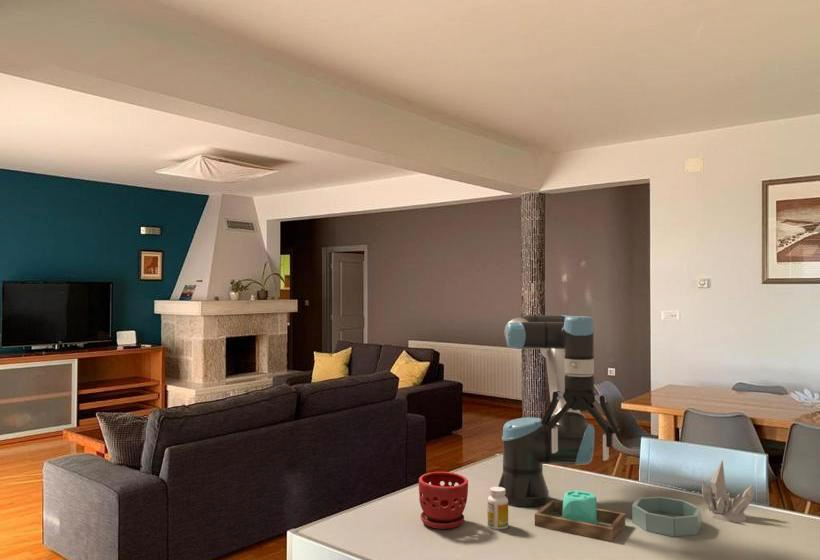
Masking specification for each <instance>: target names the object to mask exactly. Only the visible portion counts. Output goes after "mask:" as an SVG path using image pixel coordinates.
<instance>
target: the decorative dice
mask: <svg viewBox="0 0 820 560" xmlns="http://www.w3.org/2000/svg"><path fill="white" fill-rule="evenodd" d="M562 502H563V514H562V518H565V519H570V520H575V521H580V522H585V523H590V524H595V525H597V521H596V519H597V508H598V506H597V505H598V504H597V496H596V495H595V494H593V493H592V492H589V491H585V490H579V489H577V490H576V489H575V490H574V489H573V490H569V491H566V492H565V493H564V494H563V500H562Z"/></svg>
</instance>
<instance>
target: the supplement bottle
mask: <svg viewBox="0 0 820 560" xmlns="http://www.w3.org/2000/svg"><path fill="white" fill-rule="evenodd" d="M489 494H490V495H489V496H488V497H487V527H489V528H491V529H494V530H504V529H508V527H509V504H508V499H507V497H505V488H503V487H498V486H492V487H490V488H489Z"/></svg>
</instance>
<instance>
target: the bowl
mask: <svg viewBox="0 0 820 560" xmlns="http://www.w3.org/2000/svg"><path fill="white" fill-rule="evenodd" d="M631 507H632V508H631V517H632V518H631V520H632V521H631V522H632V523H633V524H635V525H636V526H637V527H639V528H641V529H643V530H644V531H646V532H648V533H655V534H659V535H665V536H668V537H669V536H670V537H685V536H695V535H698V534H699V532H700V530H701V529H702V508H701V507H699V506H697V505H694V504H693V503H690V502H688V501H686V500H685V499H684V500H683V499H678V498H672V497H665V496H659V495H658V496H648V497H637V498H636V500H635V501H634V502H633V503H632V505H631Z"/></svg>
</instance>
